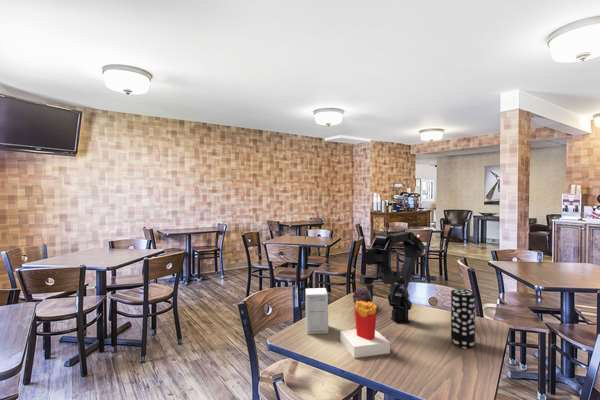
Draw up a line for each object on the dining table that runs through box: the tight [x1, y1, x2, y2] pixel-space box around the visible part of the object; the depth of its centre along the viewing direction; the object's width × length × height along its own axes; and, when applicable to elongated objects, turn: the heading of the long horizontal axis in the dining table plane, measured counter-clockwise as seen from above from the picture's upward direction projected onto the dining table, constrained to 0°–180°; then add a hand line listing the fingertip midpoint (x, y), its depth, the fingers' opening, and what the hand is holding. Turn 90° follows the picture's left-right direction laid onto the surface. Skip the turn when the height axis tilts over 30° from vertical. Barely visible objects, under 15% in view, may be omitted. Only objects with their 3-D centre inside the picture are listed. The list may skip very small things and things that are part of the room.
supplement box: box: [304, 287, 329, 335], centre depth 142 cm, size 10×9×17 cm
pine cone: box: [352, 288, 373, 305], centre depth 168 cm, size 18×10×10 cm, turn 165°
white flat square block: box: [339, 328, 391, 359], centre depth 126 cm, size 14×14×4 cm
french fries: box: [353, 301, 378, 340], centre depth 126 cm, size 9×4×13 cm, turn 44°
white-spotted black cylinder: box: [450, 288, 476, 350], centre depth 127 cm, size 8×8×20 cm
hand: (381, 299), depth 142 cm, fingers open, 9 cm apart
